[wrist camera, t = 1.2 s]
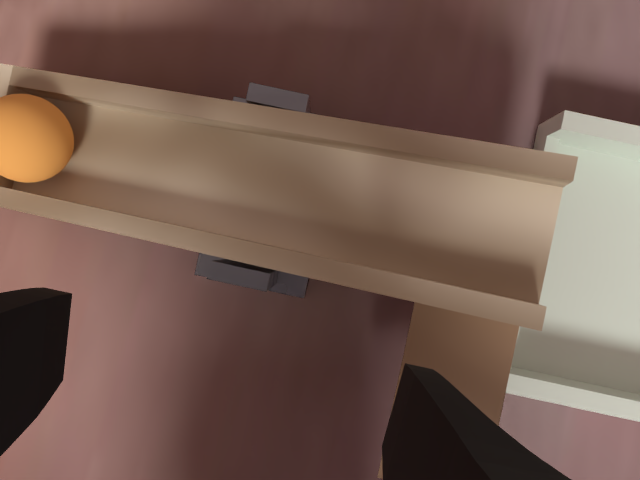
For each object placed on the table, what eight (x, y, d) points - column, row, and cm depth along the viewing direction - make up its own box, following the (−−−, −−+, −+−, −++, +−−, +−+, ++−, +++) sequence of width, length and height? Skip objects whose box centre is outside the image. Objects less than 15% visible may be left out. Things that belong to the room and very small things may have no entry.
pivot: (304, 296, 22) (300, 308, 18) (198, 273, 22) (168, 280, 18) (341, 123, 22) (346, 93, 18) (236, 100, 22) (216, 65, 18)
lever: (492, 502, 17) (499, 532, 15) (-24, 348, 21) (-70, 355, 19) (561, 169, 17) (578, 156, 15) (36, 81, 21) (-4, 62, 19)
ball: (82, 195, 20) (13, 180, 17) (19, 182, 20) (-57, 165, 18) (100, 114, 20) (34, 86, 17) (36, 104, 21) (-37, 75, 18)
